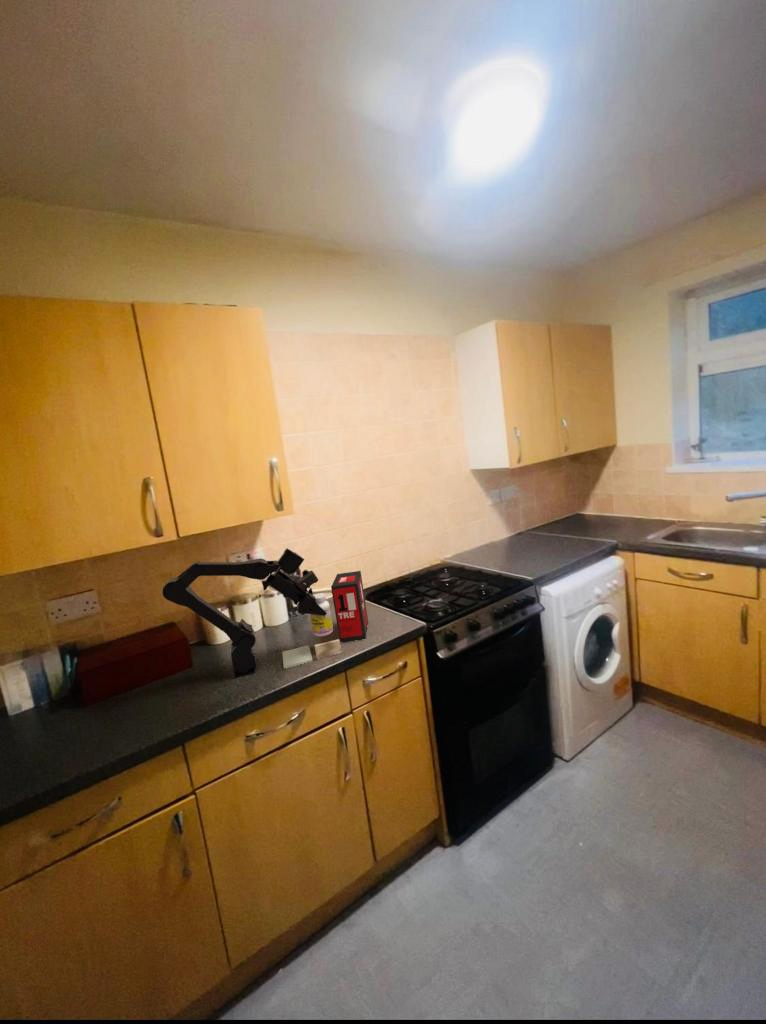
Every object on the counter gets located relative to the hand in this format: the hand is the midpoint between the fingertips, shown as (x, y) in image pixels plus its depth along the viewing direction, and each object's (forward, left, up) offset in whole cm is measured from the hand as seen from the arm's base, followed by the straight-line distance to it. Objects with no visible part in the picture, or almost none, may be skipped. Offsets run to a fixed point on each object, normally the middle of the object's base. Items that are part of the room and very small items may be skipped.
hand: (324, 611), depth 146 cm
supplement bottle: (-1, 0, -7) cm, 8 cm away
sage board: (-11, 0, -13) cm, 17 cm away
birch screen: (-1, -5, -13) cm, 14 cm away
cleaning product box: (+10, +10, -13) cm, 20 cm away
